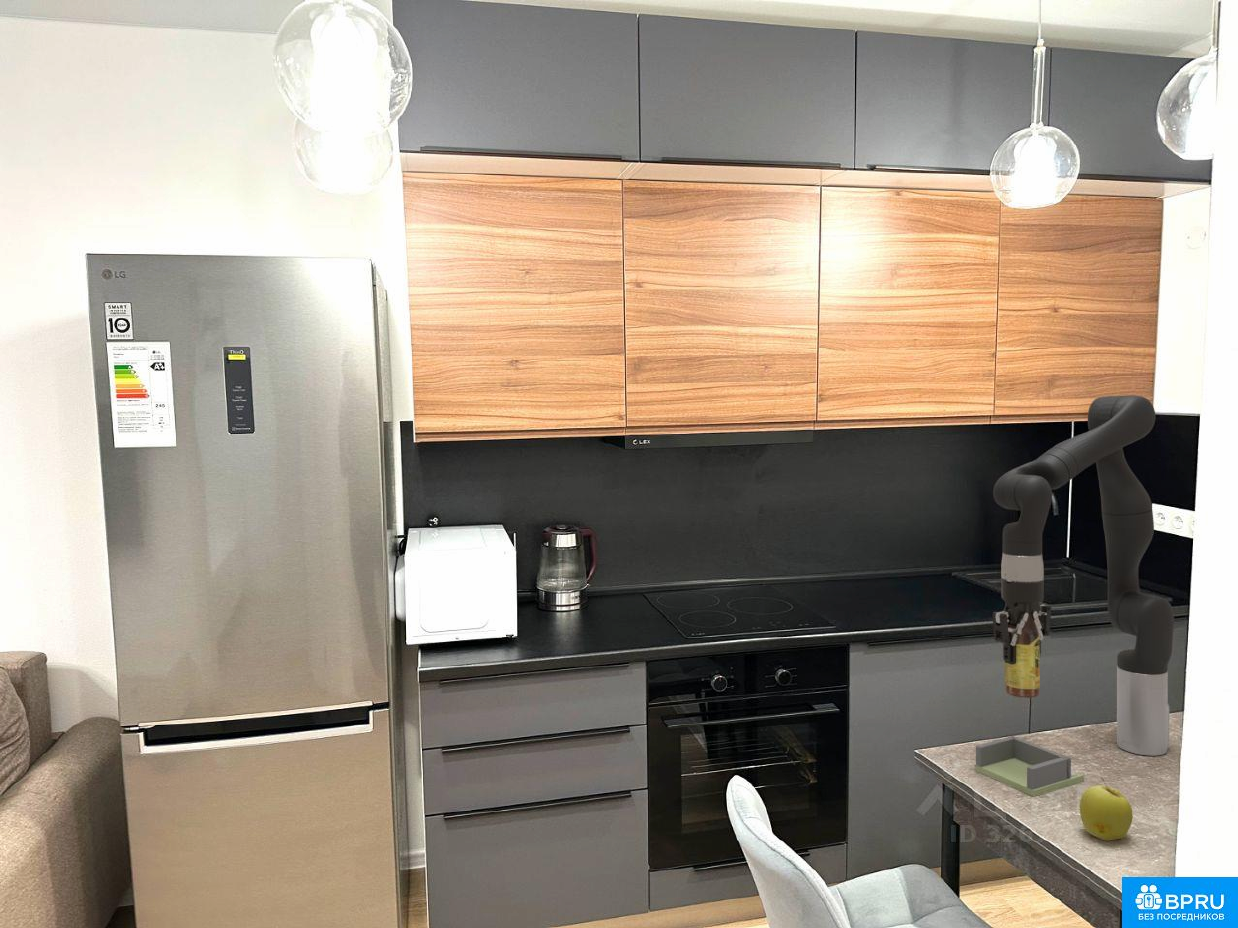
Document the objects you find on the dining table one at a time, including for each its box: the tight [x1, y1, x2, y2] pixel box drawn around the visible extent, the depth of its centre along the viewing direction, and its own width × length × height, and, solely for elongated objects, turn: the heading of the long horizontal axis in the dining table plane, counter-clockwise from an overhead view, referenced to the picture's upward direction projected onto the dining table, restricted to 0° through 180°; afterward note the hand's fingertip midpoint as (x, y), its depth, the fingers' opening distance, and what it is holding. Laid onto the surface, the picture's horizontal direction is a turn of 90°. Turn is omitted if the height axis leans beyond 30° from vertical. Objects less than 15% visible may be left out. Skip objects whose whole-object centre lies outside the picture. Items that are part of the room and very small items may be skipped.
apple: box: [1079, 777, 1133, 841], centre depth 151 cm, size 8×8×10 cm
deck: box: [974, 735, 1085, 797], centre depth 175 cm, size 14×14×5 cm
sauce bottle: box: [1004, 604, 1041, 699], centre depth 173 cm, size 6×6×20 cm
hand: (1022, 660), depth 173 cm, fingers closed on sauce bottle, 6 cm apart
